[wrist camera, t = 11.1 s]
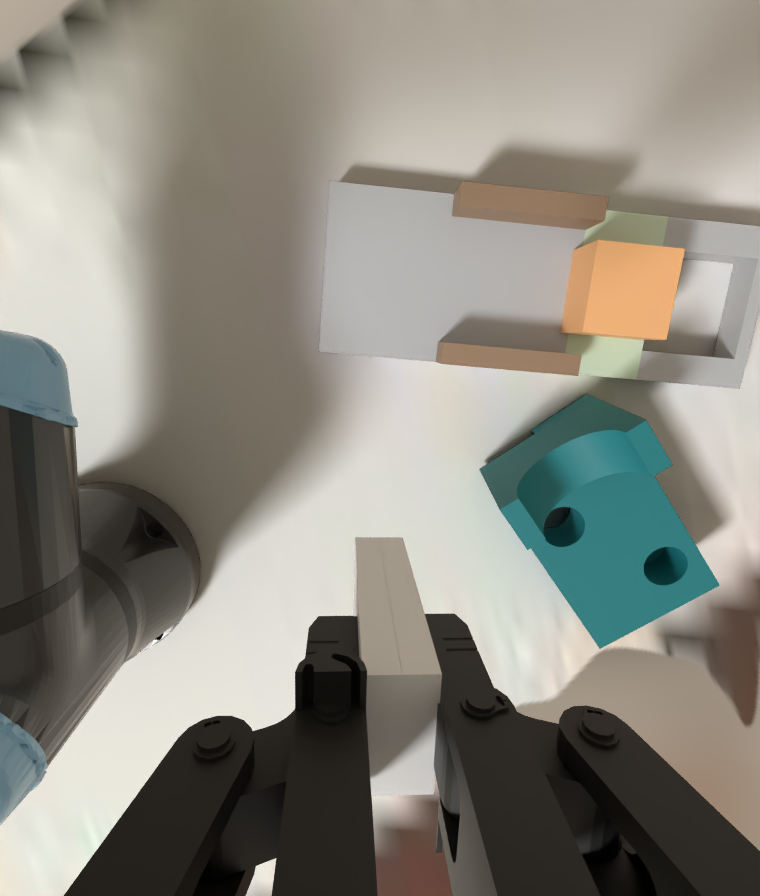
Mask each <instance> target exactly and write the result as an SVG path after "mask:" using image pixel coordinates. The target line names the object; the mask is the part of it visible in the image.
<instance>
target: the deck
mask: <svg viewBox="0 0 760 896" xmlns="http://www.w3.org/2000/svg"><path fill="white" fill-rule="evenodd" d="M608 199H609V197H606V196H597V195H587V194H578V193H569V192H559V191H550V190H540V189H531V188H522V187H512V186H503V185H494V184H484V183H475V182H466V181H462V182H461V184H460V185H459V187H458V189H457V190H456V192H455V193H454V194H450V193H440V192H431V191H421V190H412V189H402V188H393V187H383V186H374V185H364V184H355V183H345V182H336V181H329V195H328V211H327V228H326V244H325V260H324V277H323V293H322V310H321V326H320V342H319V352H330V353H341V354H352V355H364V356H375V357H386V358H397V359H409V360H420V361H431V362H438V363H441V364H450V365H461V366H472V367H484V368H495V369H506V370H518V371H529V372H540V373H552V374H563V375H574V376H578V375H590V376H601V377H612V378H624V379H635V380H646V381H658V382H669V383H680V384H692V385H703V386H714V387H726V388H737V389H740V386H741V382H742V378H743V374H744V370H745V366H746V361H747V357H748V353H749V349H750V345H751V341H752V336H753V332H754V328H755V324H756V320H757V316H758V311H759V307H760V226H753V225H743V224H734V223H724V222H715V221H705V220H696V219H686V218H677V217H668V216H658V215H649V214H639V213H630V212H620V211H611V210H607V205H608ZM596 240H605V241H615V242H625V243H634V244H644V245H654V246H664V247H673V248H683V249H685V252H684V257H683V258H684V259H694V260H704V261H714V262H724V263H734V266H733V271H732V275H731V280H730V284H729V289H728V293H727V297H726V302H725V306H724V311H723V315H722V320H721V324H720V328H719V333H718V337H717V342H716V346H715V351H714V355H713V357H706V356H695V355H684V354H673V353H662V352H651V351H642V349H643V344H644V340H633V339H623V338H612V337H601V336H590V335H580V334H569V333H560V331H561V325H562V318H563V312H564V306H565V300H566V293H567V287H568V281H569V275H570V269H571V262H572V256H573V250H575V249H578V248H580V247H582V246H585V245H587V244H589V243H592V242H594V241H596Z"/></svg>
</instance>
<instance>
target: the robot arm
mask: <svg viewBox="0 0 760 896" xmlns="http://www.w3.org/2000/svg"><path fill="white" fill-rule="evenodd" d="M75 427H78V421H77V419H76V418H75V417H74V416H73V412H72V406H71V398H70V390H69V382H68V374H67V368H66V364H65V362H64V360H63V358H62V357H61V355H60V354H59V353H58V352H57V350H56V349H54V348H53V347H52V346H51V345H50V344H48V343H46V342H45V341H43V340H41V339H38V338H36V337H33V336H28V335H24V334H19V333H13V332H8V331H2V330H0V825H1V824H2V823H3V822H4V821H5V819H6V818H7V817H8V816H9V815H10V814H11V812H12V811H13V810H14V809H15V808H16V807H17V806H18V804H19V803H20V802H21V801H22V800H23V799H24V798H25V796H26V795H27V794H28V793H29V792H30V791H32V790H33V789H34V788H36V787H37V785H38V784H39V783H40V782H41V780H42V779H43V777H44V775H45V774H46V771H45V770H46V768H47V767H48V765H49V764H50V763H51V761H52V760H53V759H54V757H55V756H56V755H57V753H58V752H59V750H60V749H61V748H62V746H63V745H64V744H65V742H66V741H67V740H68V738H69V737H70V735H71V734H72V733H73V731H74V730H75V729H76V727H77V726H78V725H79V723H80V722H81V721H82V719H83V718H84V716H85V715H86V714H87V712H88V711H89V710H90V708H91V707H92V706H93V704H94V703H95V701H96V700H97V699H98V697H99V696H100V695H101V693H102V692H103V691H104V689H105V688H106V686H107V685H108V684H109V682H110V681H111V680H112V678H113V677H114V676H115V674H116V673H117V671H118V670H119V669H120V667H121V666H122V665H123V663H124V662H126V661H128V660H130V659H131V658H133V657H134V656H136V655H137V654H138V653H139V652H141V651H143V650H145V649H147V648H149V647H151V646H153V645H154V644H156V643H158V642H159V641H161V640H162V639H163V638H165V637H166V636H167V635H168V634H169V633H170V632H171V631H172V630H173V629H174V628H175V627H176V626H177V625H178V623H179V622H180V621H181V619H182V618H183V616H184V615H185V613H186V612H187V610H188V609H189V607H190V605H191V604H192V602H193V600H194V597H195V595H196V592H197V589H198V585H199V579H200V561H199V555H198V551H197V547H196V544H195V542H194V539H193V537H192V535H191V533H190V531H189V530H188V528H187V526H186V525H185V524H184V522H183V521H182V520H181V518H180V517H179V516H178V515H177V514H176V513H175V512H174V511H173V510H172V509H171V508H170V507H169V506H168V505H166V504H165V503H164V502H162V501H161V500H159V499H158V498H156V497H155V496H153V495H151V494H149V493H147V492H145V491H143V490H140V489H138V488H135V487H132V486H128V485H124V484H118V483H107V482H99V483H89V484H83V485H80V486H78V473H77V456H76V439H75ZM435 775H436V780H437V784H438V789H439V794H440V796H439V810H438V824H437V838H436V853H437V852H442V844H443V846H444V852H445V857H446V862H447V867H448V873H449V878H450V883H451V888H452V893H453V896H760V851H759V850H758V849H757V848H756V847H755V846H753V844H752V843H751V842H750V841H748V840H747V839H746V838H745V837H744V836H743V835H742V834H741V833H740V832H739V831H738V830H737V829H736V828H735V827H734V826H733V825H732V824H731V823H729V821H727V820H726V819H725V818H724V817H723V816H722V815H721V814H720V813H719V812H718V811H717V810H716V809H715V808H714V807H713V806H712V805H711V804H710V803H709V802H708V801H706V799H704V797H702V796H701V795H700V794H699V793H698V792H697V791H696V790H695V789H694V788H693V787H692V786H691V785H690V784H689V783H688V782H687V781H686V780H685V779H684V778H683V777H681V775H679V774H678V773H677V772H676V771H675V770H674V769H673V768H672V767H671V766H670V765H669V764H668V763H667V762H666V761H665V760H664V759H663V758H662V757H661V756H660V755H659V754H658V753H656V752H655V751H654V750H653V749H652V748H651V747H650V746H649V745H648V744H647V743H646V742H645V741H644V740H643V739H642V738H641V737H640V736H639V735H638V734H637V733H635V731H634V730H632V729H631V728H630V727H629V726H628V725H627V724H626V723H625V722H623V721H622V720H621V719H619V718H618V717H617V716H615V715H613V714H611V713H609V712H607V711H604V710H602V709H599V708H594V707H590V706H573V707H571V708H569V709H567V710H565V711H564V712H563V714H562V715H561V717H560V720H559V724H556V723H551V722H547V721H543V720H538V719H534V718H531V717H528V716H524V715H522V714H520V713H518V712H517V711H516V709H515V707H514V705H513V704H512V702H511V701H510V700H509V698H508V697H507V696H506V695H504V694H503V693H502V692H500V691H499V690H497V689H495V688H494V687H493V685H492V682H491V680H490V678H489V675H488V673H487V671H486V668H485V666H484V664H483V661H482V659H481V656H480V654H479V652H478V651H477V647H476V645H475V642H474V640H473V638H472V635H471V633H470V631H469V628H468V626H467V624H466V623H464V622H463V621H462V620H461V619H460V618H459V617H458V616H456V615H455V614H424V610H423V607H422V603H421V600H420V596H419V593H418V589H417V586H416V582H415V579H414V576H413V572H412V569H411V565H410V562H409V558H408V555H407V551H406V548H405V544H404V541H403V538H359V537H355V569H354V612H353V616H318V618H317V619H316V620H315V621H314V622H313V624H312V625H311V626H310V627H309V632H308V640H307V648H306V656H305V659H304V660H302V661H301V662H300V663H299V665H298V667H297V669H296V672H295V710H294V711H293V712H292V713H291V714H290V715H289V716H288V717H287V718H285V719H284V720H282V721H280V722H279V723H277V724H274V725H271V726H269V727H266V728H263V729H259V730H255V731H252V729H251V727H250V726H249V725H248V724H247V723H246V722H245V721H244V720H242V719H239V718H236V717H233V716H215V717H212V718H208V719H204V720H202V721H200V722H198V723H196V724H194V725H193V726H191V727H189V728H188V729H187V730H186V731H185V732H184V733H183V734H182V735H181V736H180V737H179V738H178V739H177V741H176V742H175V743H174V745H173V746H172V748H171V749H170V750H169V752H168V753H167V754H166V756H165V757H164V759H163V760H162V761H161V763H160V764H159V765H158V767H157V768H156V770H155V771H154V772H153V774H152V775H151V776H150V778H149V779H148V781H147V782H146V783H145V785H144V786H143V787H142V789H141V790H140V792H139V793H138V794H137V796H136V797H135V798H134V800H133V801H132V803H131V804H130V805H129V807H128V808H127V809H126V811H125V812H124V814H123V815H122V816H121V818H120V819H119V820H118V822H117V823H116V825H115V826H114V827H113V829H112V830H111V831H110V833H109V834H108V836H107V837H106V838H105V840H104V841H103V842H102V844H101V845H100V847H99V848H98V849H97V851H96V852H95V853H94V855H93V856H92V858H91V859H90V860H89V862H88V863H87V864H86V866H85V867H84V869H83V870H82V871H81V873H80V874H79V875H78V877H77V878H76V880H75V881H74V882H73V884H72V885H71V886H70V888H69V889H68V891H67V892H66V893H65V895H64V896H245V895H246V893H247V890H248V888H249V885H250V883H251V880H252V878H253V875H254V872H255V867H256V866H257V865H259V864H262V863H264V862H267V861H269V860H272V859H275V858H277V859H276V866H275V874H274V882H273V890H272V896H377V880H376V864H375V847H374V831H373V815H372V798H371V796H394V795H422V794H434V785H435Z"/></svg>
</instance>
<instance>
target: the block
mask: <svg viewBox="0 0 760 896" xmlns="http://www.w3.org/2000/svg"><path fill="white" fill-rule="evenodd" d="M684 252H685V249H683V248H673V247H664V246H654V245H644V244H634V243H625V242H615V241H605V240H596V241H594V242H592V243H589V244H587V245H585V246H582V247H580V248H578V249H575V250H573V256H572V262H571V269H570V275H569V281H568V287H567V293H566V300H565V306H564V312H563V318H562V325H561V331H560V333H569V334H580V335H590V336H601V337H612V338H623V339H633V340H667V335H668V330H669V325H670V320H671V315H672V311H673V306H674V301H675V296H676V291H677V286H678V281H679V276H680V272H681V267H682V262H683V257H684Z"/></svg>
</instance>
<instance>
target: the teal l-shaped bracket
mask: <svg viewBox="0 0 760 896" xmlns="http://www.w3.org/2000/svg"><path fill="white" fill-rule="evenodd" d="M531 431H532V433H533V434H534V435H532V436H531V437H529V438H528V439H526V440H524V441H523V442H521V443H520V444H518V445H516V446H515V447H513V448H512V449H510V450H509V451H507V452H505V453H504V454H502V455H501V456H499V457H498V458H496V459H494V460H493V461H491V462H490V463H488V464H486V465H485V466H483V467H482V468H480V471H481V473H482V475H483V477H484V479H485V481H486V483H487V485H488V487H489V489H490V491H491V493H492V495H493V497H494V499H495V501H496V503H497V505H498V507H499V509H500V511H501V512H502V514H503V515H504V516H505V518H506V519H507V521H508V522H509V524H510V525H511V527H512V528H513V529H514V531H515V532H516V534H517V535H518V537H519V538H520V540H521V541H522V543H523V544H524V545H525V547H526V548H527V550H528V549H530V548H531V549H532V550H533V552H534V553H535V555H536V556H537V558H538V559H539V560H540V562H541V563H542V565H543V566H544V568H545V569H546V571H547V572H548V574H549V575H550V577H551V578H552V579H553V581H554V582H555V584H556V585H557V587H558V588H559V590H560V591H561V593H562V594H563V596H564V597H565V598H566V600H567V601H568V603H569V604H570V606H571V607H572V609H573V610H574V612H575V613H576V614H577V616H578V617H579V619H580V620H581V622H582V623H583V625H584V626H585V628H586V629H587V631H588V632H589V633H590V635H591V636H592V638H593V639H594V641H595V642H596V644H597V645H598V647H599V648H602V647H604V646H606V645H608V644H610V643H612V642H614V641H616V640H617V639H619V638H621V637H623V636H625V635H627V634H629V633H631V632H633V631H634V630H636V629H638V628H640V627H642V626H644V625H646V624H648V623H650V622H652V621H653V620H655V619H657V618H659V617H661V616H663V615H665V614H667V613H669V612H670V611H672V610H674V609H676V608H678V607H680V606H682V605H684V604H686V603H687V602H689V601H691V600H693V599H695V598H697V597H699V596H701V595H703V594H704V593H706V592H708V591H710V590H712V589H714V588H716V587H718V586H720V585H719V583H718V582H717V580H716V578H715V577H714V575H713V573H712V571H711V570H710V568H709V566H708V565H707V563H706V561H705V560H704V558H703V556H702V555H701V553H700V551H699V550H698V548H697V546H696V545H695V543H694V541H693V540H692V538H691V536H690V535H689V533H688V531H687V530H686V528H685V526H684V525H683V523H682V521H681V520H680V518H679V516H678V515H677V513H676V511H675V510H674V508H673V506H672V505H671V503H670V501H669V500H668V498H667V496H666V495H665V493H664V491H663V490H662V488H661V486H660V485H659V483H658V481H657V480H656V478H655V475H656V474H658V473H660V472H661V471H663V470H665V469H666V468H668V467H670V466H672V463H671V461H670V459H669V458H668V456H667V454H666V453H665V451H664V449H663V448H662V446H661V444H660V442H659V441H658V439H657V437H656V436H655V434H654V432H653V430H652V429H651V427H650V425H649V424H648V422H647V420H645V419H643V418H640V417H638V416H636V415H634V414H631V413H629V412H627V411H624V410H622V409H620V408H618V407H615V406H613V405H611V404H609V403H606V402H604V401H602V400H599V399H597V398H595V397H593V396H590V395H588V394H586V395H585V396H583V397H581V398H580V399H578V400H577V401H575V402H574V403H572V404H570V405H569V406H567V407H566V408H564V409H563V410H561V411H559V412H558V413H556V414H555V415H553V416H552V417H550V418H548V419H547V420H545V421H544V422H542V423H541V424H539V425H538V426H536V427H535V428H533V429H532V430H531ZM559 507H570V513H569V516H568V518H567V519H566V520H565V522H564V523H562V524H561V525H559V526H557V527H554V528H544V524H545V521H546V519H547V517H548V515H549V514H550V512H551V511H552V510H554V509H556V508H559Z"/></svg>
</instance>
